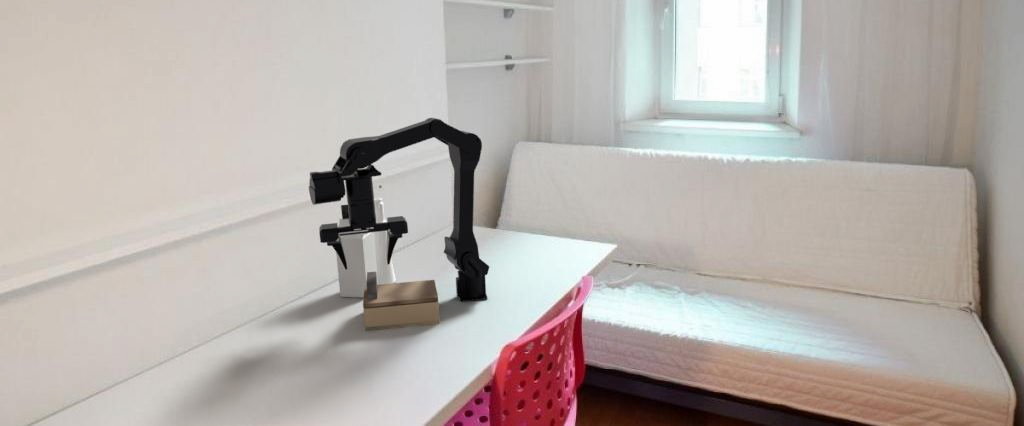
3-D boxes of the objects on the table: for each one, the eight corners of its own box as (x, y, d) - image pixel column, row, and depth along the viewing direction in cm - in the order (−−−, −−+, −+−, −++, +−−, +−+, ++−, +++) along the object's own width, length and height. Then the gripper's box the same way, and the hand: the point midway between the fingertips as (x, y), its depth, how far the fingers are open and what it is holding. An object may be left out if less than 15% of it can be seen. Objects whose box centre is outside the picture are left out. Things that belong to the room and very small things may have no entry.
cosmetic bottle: (381, 276, 190) (374, 195, 185) (400, 279, 188) (394, 197, 183) (367, 284, 185) (360, 200, 180) (387, 286, 182) (380, 202, 177)
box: (435, 304, 169) (434, 284, 168) (439, 323, 158) (438, 301, 156) (366, 310, 167) (364, 290, 165) (365, 330, 155) (363, 309, 154)
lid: (434, 282, 168) (433, 263, 167) (438, 300, 156) (436, 279, 155) (364, 289, 165) (362, 269, 164) (363, 307, 154) (361, 286, 153)
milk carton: (367, 298, 175) (360, 222, 170) (340, 297, 176) (332, 222, 172) (378, 288, 181) (372, 215, 177) (352, 287, 183) (345, 215, 178)
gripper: (399, 186, 166) (405, 251, 169) (316, 194, 161) (324, 261, 165) (405, 196, 155) (411, 265, 159) (316, 205, 151) (324, 276, 155)
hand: (367, 266), depth 160 cm, fingers open, 9 cm apart
